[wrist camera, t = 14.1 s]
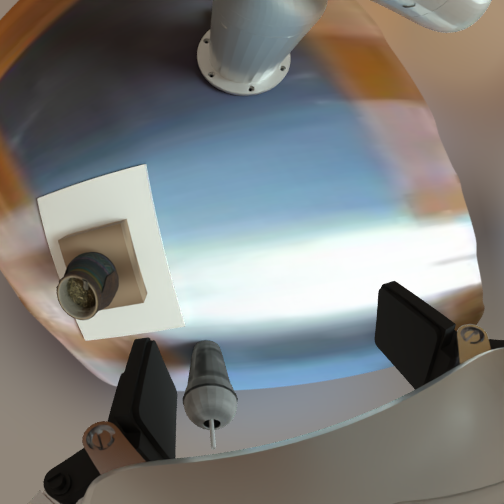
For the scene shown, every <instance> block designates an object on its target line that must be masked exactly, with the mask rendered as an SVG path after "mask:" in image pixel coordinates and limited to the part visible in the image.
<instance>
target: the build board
mask: <svg viewBox="0 0 504 504" xmlns="http://www.w3.org/2000/svg"><path fill="white" fill-rule="evenodd" d="M37 200H38V205H39V210H40V214H41V218H42V223H43V227H44V230H45V234H46V238H47V241H48V245H49V248H50V252H51V255H52V258H53V261H54V264H55V267H56V270H57V273H58V276H59V279H61V278H63V277H64V274H65V271H66V266H65V263H64V259H63V256H62V253H61V250H60V246H59V243H58V240H59V239H61V238H63V237H64V236H66V235H68V234H72V233H75V232H79V231H83V230H86V229H90V228H94V227H97V226H101V225H105V224H109V223H113V222H117V221H121V220H125V219H127V222H128V226H129V230H130V234H131V238H132V242H133V246H134V249H135V253H136V257H137V260H138V264H139V267H140V271H141V274H142V277H143V281H144V284H145V287H146V290H147V296H146V298H145V301H144V303H140V304H135V305H129V306H123V307H117V308H111V309H105V310H100V311H98V312H97V313H96V314H95V316H94V317H92V318H90V319H88V320H78V319H76V321H77V323H78V326H79V328H80V330H81V332H82V334H83V336H84V338H85V340H86V341H87V340H96V339H104V338H112V337H120V336H127V335H134V334H141V333H148V332H155V331H161V330H167V329H173V328H179V327H185V321H184V318H183V314H182V311H181V308H180V305H179V301H178V298H177V294H176V291H175V287H174V284H173V280H172V277H171V273H170V269H169V265H168V262H167V258H166V254H165V250H164V246H163V242H162V238H161V233H160V229H159V225H158V220H157V216H156V211H155V207H154V202H153V197H152V192H151V187H150V182H149V177H148V171H147V165H146V164H143V165H139V166H136V167H132V168H128V169H124V170H121V171H117V172H114V173H110V174H107V175H104V176H100V177H97V178H94V179H91V180H88V181H85V182H82V183H79V184H76V185H73V186H70V187H67V188H64V189H61V190H59V191H56V192H53V193H51V194H48V195H45V196H43V197H40V198H38V199H37Z"/></svg>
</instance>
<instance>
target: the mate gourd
mask: <svg viewBox="0 0 504 504" xmlns="http://www.w3.org/2000/svg"><path fill="white" fill-rule="evenodd" d="M118 287H119V276H118V274H117V271H116V267H115V265H114V264H113V263H112V261H111V260H110V259H109V258H108V257H107V256H105V255H103V254H101V253H98V252H86V253H83V254H80V255H78V256H77V257H75V258H74V259H73V260H72V261H71V262H70V263H69V264H68V266H67V269H66V271H65V274H64V277H63V278H61V279H60V280H59V285H58V286H57V287H56V288H57V297H58V301H59V303H60V305H61V307H62V308H63V310H64V311H65V312H66V313H67V314H68V315H69V316H71V317H73V318H75V319H78V320H88V319H90V318H92V317H94V316H95V314H96V313H97V312H98V311H100V310H102V309H104V308H106V307H107V306H109V305H110V303H111V302H112V300H113V298H114V297H115V295H116V292H117V291H118Z"/></svg>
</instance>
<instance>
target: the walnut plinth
mask: <svg viewBox="0 0 504 504" xmlns="http://www.w3.org/2000/svg"><path fill="white" fill-rule="evenodd" d="M58 243H59V246H60V250H61V253H62V256H63V259H64V263H65V266H66V269H67V266H68V264H69V263H70V262H71V261H72V260H73V259H74V258H75V257H77V256H78V255H80V254H83V253H86V252H98V253H101V254H103V255H105V256H107V257H108V258H109V259H110V260H111V261H112V263H113V264H114V265H115V267H116V271H117V274H118V276H119V287H118V291H117V292H116V295H115V297H114V298H113V300H112V302H111V303H110V305H109V306H107V307H106V308H104V309H102V310H105V309H111V308H117V307H123V306H129V305H135V304H140V303H144V301H145V298H146V296H147V290H146V287H145V284H144V281H143V277H142V274H141V271H140V267H139V264H138V260H137V257H136V253H135V249H134V246H133V242H132V238H131V234H130V230H129V226H128V222H127V219H125V220H121V221H117V222H113V223H109V224H105V225H101V226H97V227H94V228H90V229H86V230H83V231H79V232H75V233H72V234H68V235H66V236H64V237H63V238H61V239H59V240H58Z"/></svg>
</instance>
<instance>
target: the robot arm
mask: <svg viewBox="0 0 504 504" xmlns="http://www.w3.org/2000/svg"><path fill="white" fill-rule="evenodd" d="M371 1H374V2H375V3H378V4H380V5H382V6H384V7H386V8H388V9H390V10H392V11H394V12H396V13H398V14H400V15H402V16H403V17H405V18H407V19H409V20H411V21H413V22H415V23H417V24H419V25H421V26H423V27H425V28H428V29H431V30H434V31H438V32H445V33H447V32H457V31H460V30H463V29H466V28H468V27H469V26H471V25H472V24H474V23H475V22H476V21H477V20H478V19H479V18H480V17H481V16H482V15H483V14H484V12H485V11H486V10H487V8H488V6H489V4H490V3H491V1H492V0H371ZM326 6H327V0H213V5H212V17H211V29H210V30H209V31H207V32H206V34H205V35H204V36H203V37H202V39H201V41H200V43H199V46H198V50H197V61H198V66H199V68H200V71H201V73H202V74H203V76H204V77H205V79H206V80H207V81H208V82H209V83H210V84H211V85H213V86H214V87H216V88H217V89H219V90H221V91H224V92H226V93H229V94H233V95H240V96H251V95H257V94H261V93H264V92H266V91H269V90H271V89H272V88H274V87H275V86H276V85H277V84H279V83H280V82H281V81H282V79H283V78H284V77H285V76H286V74H287V72H288V70H289V66H290V52H291V51H292V50H293V48H294V47H295V46H296V45H297V44H298V43H299V41H300V40H301V39H302V38H303V37H304V36H305V35H306V33H307V32H308V31H309V30H310V29H311V28H312V27H313V26H314V25H315V23H316V22H317V21H318V20H319V19H320V18H321V16H322V15H323V13H324V11H325V8H326ZM205 42H208V43H205ZM280 69H282V70H283V71H281V70H280ZM210 75H213V77H210ZM248 89H252V91H249V90H248ZM455 325H456V324H455V323H453V322H452V321H451V320H449V319H448V318H447V317H445V316H444V315H442V314H441V313H440V312H438V311H437V310H436V309H434V308H433V307H431V306H430V305H429V304H427V303H426V302H424V301H423V300H422V299H420V298H419V297H417V296H416V295H414V294H413V293H412V292H410V291H409V290H407V289H406V288H404V287H403V286H401V285H400V284H399V283H397V282H395V281H392V282H389V283H386V284H383V285H382V287H381V289H379V293H378V308H377V320H376V331H375V343H376V345H377V347H378V348H379V349H380V350H381V351H382V352H383V354H384V355H385V356H386V357H387V358H388V359H389V360H390V361H391V363H392V364H393V365H394V366H395V367H396V368H397V369H398V370H399V371H400V373H401V374H402V375H403V376H404V377H405V378H406V380H407V381H408V382H409V383H410V384H411V385H412V386H413V387H414V389H415V390H414V391H412V392H410V393H408V394H406V395H404V396H402V397H400V398H398V399H396V400H394V401H392V402H390V403H387V404H385V405H383V406H381V407H379V408H376V409H374V410H372V411H369V412H367V413H365V414H362V415H360V416H357V417H355V418H352V419H350V420H347V421H344V422H341V423H339V424H336V425H333V426H330V427H327V428H324V429H322V430H318V431H315V432H312V433H308V434H305V435H302V436H298V437H295V438H291V439H287V440H284V441H279V442H275V443H272V444H267V445H262V446H258V447H253V448H248V449H243V450H238V451H231V452H225V453H219V454H212V455H204V456H196V457H187V458H177V459H175V442H176V441H175V440H176V408H177V391H176V388H175V386H174V383H173V381H172V379H171V377H170V375H169V372H168V370H167V368H166V366H165V363H164V361H163V359H162V356H161V354H160V351H159V349H158V347H157V344H156V342H155V341H154V340H153V341H151V340H150V338H142V339H136V340H135V341H134V343H133V346H132V349H131V353H130V356H129V359H128V362H127V365H126V369H125V372H124V373H122V374H121V376H120V379H119V382H118V386H117V389H116V393H115V396H114V400H113V403H112V407H111V411H110V414H109V418H108V422H105V421H102V422H97V423H95V424H93V425H91V426H90V427H89V428H88V429H87V430H86V431H85V432H84V435H83V440H82V443H83V446H84V448H83V449H82V450H80V451H79V452H77V453H76V454H74V455H73V456H71V457H70V458H68V459H67V460H65V461H64V462H62V463H60V464H59V465H57V466H56V467H54V468H53V469H51V470H50V471H49V472H48V473H47V474H46V476H45V479H44V488H45V490H44V492H41V491H39V492H38V493H37V494H36V495H35V496H34V497H33V498H32V500H31V501H30V502H29V503H28V504H504V340H492V339H488V335H487V333H486V331H484V329H482V328H481V327H479V326H477V325H472V324H468V325H463V326H461V327H460V328H459V329H458V331H455V330H454V329H455Z"/></svg>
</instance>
